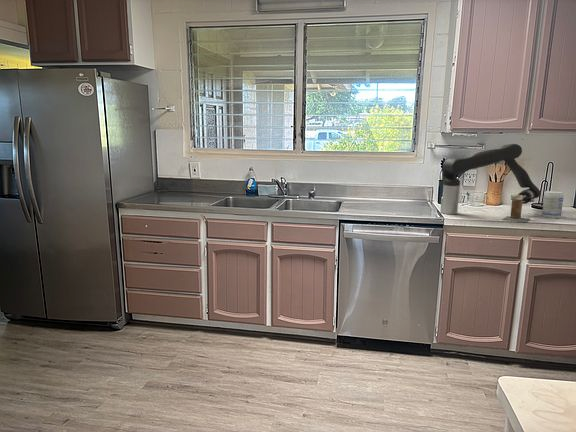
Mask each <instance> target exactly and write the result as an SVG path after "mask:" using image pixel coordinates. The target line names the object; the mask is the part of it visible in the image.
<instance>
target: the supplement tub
mask: <svg viewBox="0 0 576 432" xmlns="http://www.w3.org/2000/svg"><path fill="white" fill-rule="evenodd" d="M564 193H565V192H562V191H554V190H546V191H544V195H543V202H542V211H541V213H542V214H541V216H542V217H544V218H547V219H548V218H549V219H559V218H562V212H563V203H564V197H565V196H564Z"/></svg>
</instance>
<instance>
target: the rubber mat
mask: <svg viewBox="0 0 576 432" xmlns="http://www.w3.org/2000/svg"><path fill="white" fill-rule="evenodd" d="M501 220H502V221H508V222H509V221H511V222H516V223H518V222H519V223H528V222H529V221H530V220H531V218H528V217H527V218H525V217H521V218H520V219H514V218H510V216H509V215H507V216H505V217H503V218H502V219H501Z"/></svg>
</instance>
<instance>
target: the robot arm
mask: <svg viewBox="0 0 576 432" xmlns="http://www.w3.org/2000/svg"><path fill="white" fill-rule="evenodd" d="M522 153H523V148H522V147H521V145H519V144H517V143H510V144H504V145H502V146H501V147H500V148H494V149H488V150H487V149H486V150H483V151H478V152H476V153H474V154H473V155H471V156H469V157H465V158H453V157H451V158H449V157H448V158H446V159H445V160H444V162H443V164H442V182H443V185H442V187H443V189H442V197H440V198H441V199H440V211H439V212H440V213H442V214H446V215H457V214H458V212H459V211H458V210H459V201H460V189H461V187H460V185H461V181H460V180H459V179H458V177H457V175H459V174H462V173H465V172H467V171H470V170H474V169H480V168H483V167H488V166H490V165H495V164H497V163H500V162H505V164H506V165H507V167H508V168H509V170H510V171H511V172H512V174H513V175H514V177H515V179H516V181H517V184H518V185H519V187H520V188H522V189H523V190H522V191H520V192H519V193H518V194H517V195H523V201H522V205H525V204H528V203H533V202H534V203H535V199H538V198H539V197H540V196H541V190H540V189H539V188H538V187H537V185H535V184H534V183H533V181H532V180H531V177H530V175H529V173H528V171H526V170H525V168H523V167H522V166H521V165H520V164H519V163H518V162H517V160H516V159H518V158H519V157H520V156H521V155H522ZM513 195H514V194H511V196H510V200H511V201H512V196H513Z"/></svg>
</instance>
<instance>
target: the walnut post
mask: <svg viewBox="0 0 576 432" xmlns="http://www.w3.org/2000/svg"><path fill="white" fill-rule="evenodd" d="M512 195H513V196H512ZM512 195H511V196H512V200H511V206H510V218H514V219H520V218H522V209H523V204H522V201H523V195H518V194H512Z"/></svg>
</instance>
